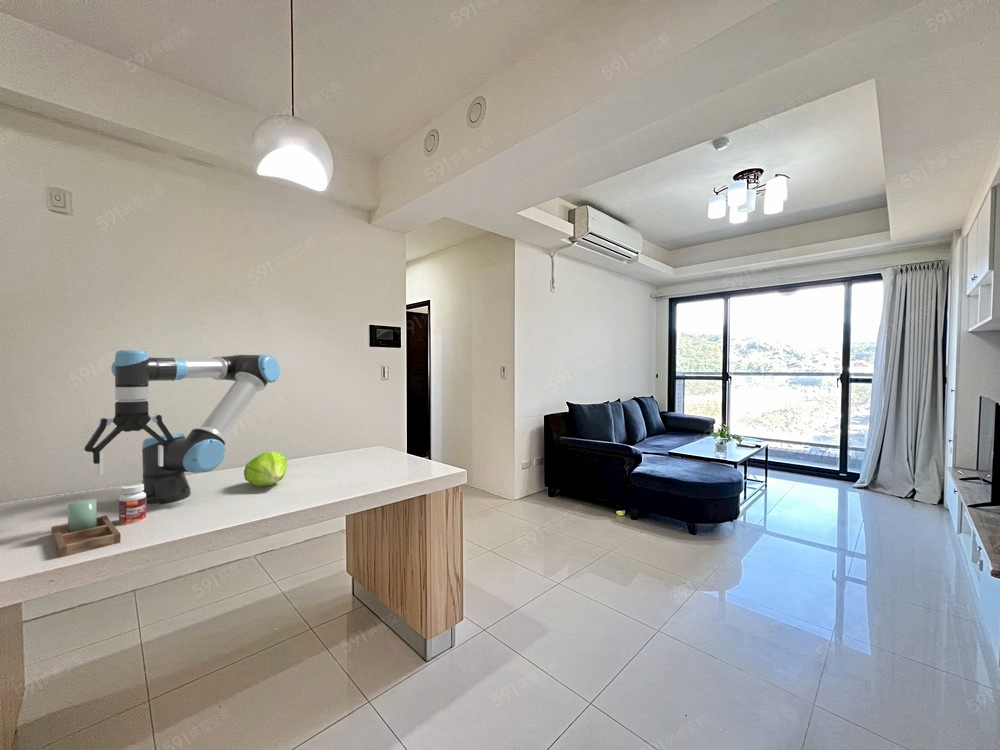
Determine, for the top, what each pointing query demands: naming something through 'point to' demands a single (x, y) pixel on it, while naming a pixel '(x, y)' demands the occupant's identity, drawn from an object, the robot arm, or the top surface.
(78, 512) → the soap bar
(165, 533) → the top surface
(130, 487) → the pill bottle
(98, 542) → the crate
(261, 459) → the lettuce
